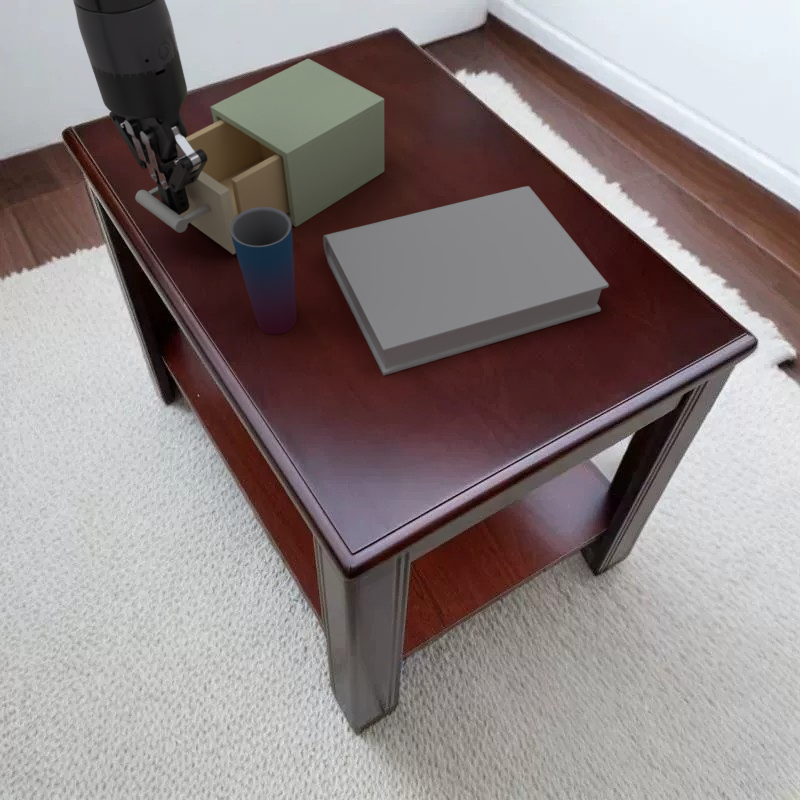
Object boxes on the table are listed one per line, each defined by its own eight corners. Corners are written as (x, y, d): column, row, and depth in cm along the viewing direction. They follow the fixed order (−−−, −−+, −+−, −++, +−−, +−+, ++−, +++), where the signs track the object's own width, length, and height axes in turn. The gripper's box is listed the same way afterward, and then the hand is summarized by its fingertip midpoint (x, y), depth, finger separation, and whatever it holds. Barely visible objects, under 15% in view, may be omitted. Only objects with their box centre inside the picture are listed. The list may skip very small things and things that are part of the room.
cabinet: (295, 227, 83) (286, 153, 75) (225, 180, 88) (210, 106, 80) (384, 171, 90) (384, 98, 82) (314, 130, 95) (308, 58, 87)
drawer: (199, 275, 77) (182, 216, 70) (135, 226, 81) (114, 166, 75) (324, 198, 85) (319, 138, 79) (260, 157, 89) (250, 98, 83)
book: (609, 284, 73) (383, 349, 67) (600, 311, 76) (383, 376, 70) (523, 179, 83) (321, 228, 77) (519, 207, 86) (324, 255, 80)
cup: (268, 348, 72) (250, 255, 62) (239, 316, 74) (218, 222, 65) (314, 323, 74) (303, 230, 64) (285, 293, 77) (270, 199, 67)
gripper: (52, 36, 64) (111, 199, 78) (141, 94, 59) (187, 257, 73) (125, 8, 68) (169, 168, 81) (215, 59, 62) (246, 222, 76)
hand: (178, 210), depth 77 cm, fingers closed
